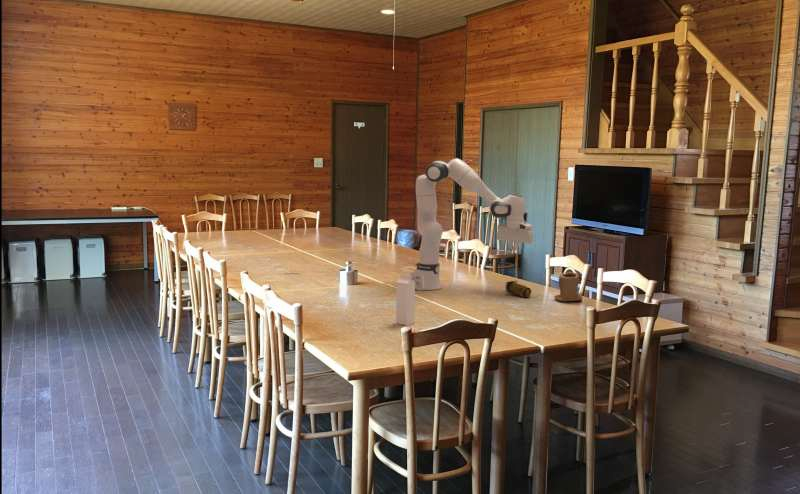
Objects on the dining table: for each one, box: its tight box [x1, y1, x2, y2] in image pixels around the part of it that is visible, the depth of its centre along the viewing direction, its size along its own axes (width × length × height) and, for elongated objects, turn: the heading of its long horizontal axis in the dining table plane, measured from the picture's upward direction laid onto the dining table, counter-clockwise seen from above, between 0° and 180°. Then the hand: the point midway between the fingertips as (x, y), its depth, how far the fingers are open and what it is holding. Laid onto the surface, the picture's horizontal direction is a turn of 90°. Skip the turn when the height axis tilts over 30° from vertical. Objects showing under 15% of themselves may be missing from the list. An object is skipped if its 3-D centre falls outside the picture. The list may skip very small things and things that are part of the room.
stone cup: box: [554, 271, 584, 302], centre depth 344 cm, size 15×12×15 cm
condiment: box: [504, 280, 532, 298], centre depth 354 cm, size 7×8×12 cm
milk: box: [395, 273, 416, 326], centre depth 294 cm, size 6×6×22 cm
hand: (513, 250), depth 356 cm, fingers closed
